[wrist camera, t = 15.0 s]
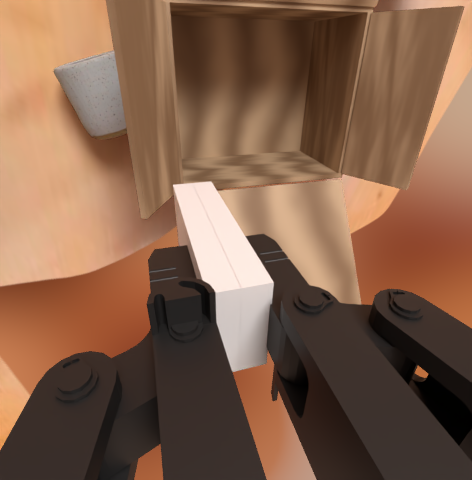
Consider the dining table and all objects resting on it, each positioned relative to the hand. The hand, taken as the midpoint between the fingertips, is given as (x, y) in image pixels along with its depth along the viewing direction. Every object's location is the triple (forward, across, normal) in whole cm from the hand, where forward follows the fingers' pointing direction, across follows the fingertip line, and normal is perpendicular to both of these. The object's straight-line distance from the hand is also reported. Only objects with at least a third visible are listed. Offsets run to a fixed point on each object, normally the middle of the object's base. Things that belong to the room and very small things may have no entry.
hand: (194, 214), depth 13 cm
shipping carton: (+34, +12, +5) cm, 37 cm away
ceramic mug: (+35, -4, +2) cm, 35 cm away
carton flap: (+17, +12, -15) cm, 26 cm away
